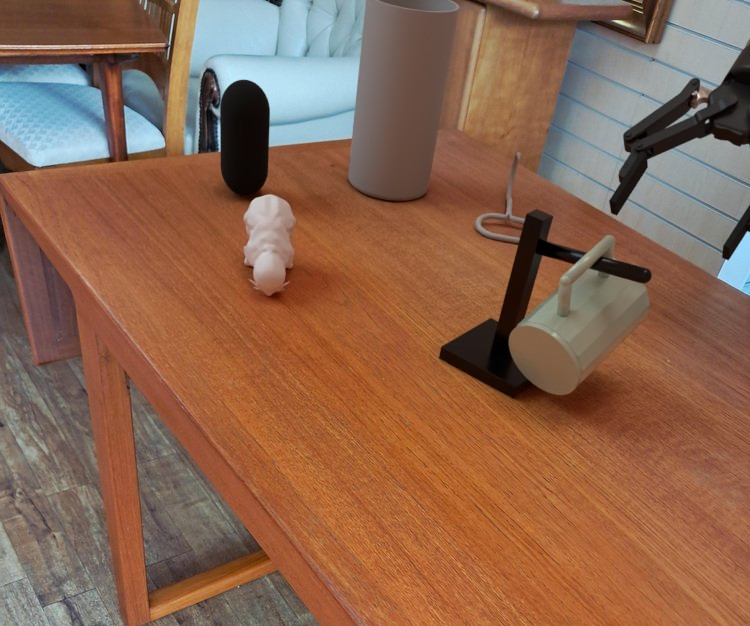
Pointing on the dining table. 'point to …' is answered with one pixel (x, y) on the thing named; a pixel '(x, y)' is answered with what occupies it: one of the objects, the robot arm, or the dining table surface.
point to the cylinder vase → (400, 95)
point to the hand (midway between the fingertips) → (667, 230)
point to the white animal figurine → (269, 242)
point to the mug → (578, 324)
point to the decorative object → (244, 137)
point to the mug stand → (520, 308)
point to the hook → (508, 212)
